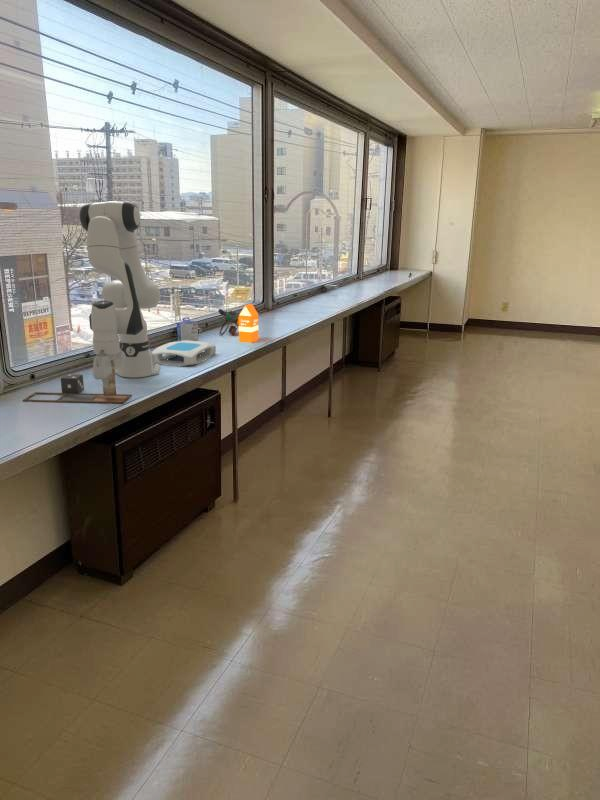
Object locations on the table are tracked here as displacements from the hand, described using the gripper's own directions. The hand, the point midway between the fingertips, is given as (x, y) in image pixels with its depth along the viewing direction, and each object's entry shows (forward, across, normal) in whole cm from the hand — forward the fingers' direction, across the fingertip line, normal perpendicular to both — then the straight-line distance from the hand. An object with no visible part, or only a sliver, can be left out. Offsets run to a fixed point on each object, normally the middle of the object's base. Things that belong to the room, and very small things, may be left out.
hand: (109, 385), depth 215 cm
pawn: (+4, 0, 0) cm, 4 cm away
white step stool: (+6, +67, -13) cm, 68 cm away
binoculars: (+6, +129, -27) cm, 132 cm away
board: (+5, 0, +12) cm, 13 cm away
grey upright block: (+6, +97, -9) cm, 98 cm away
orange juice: (+6, +112, -39) cm, 119 cm away
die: (+6, +9, +17) cm, 20 cm away
